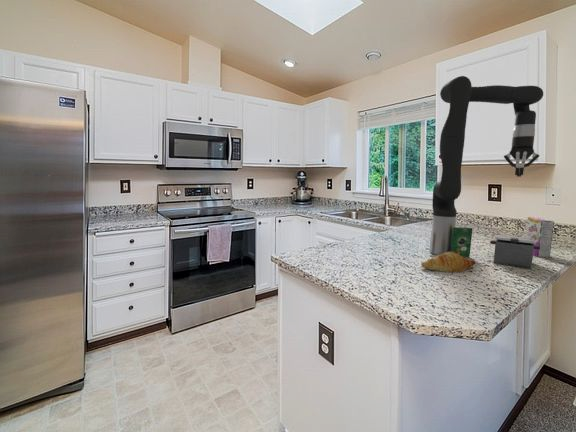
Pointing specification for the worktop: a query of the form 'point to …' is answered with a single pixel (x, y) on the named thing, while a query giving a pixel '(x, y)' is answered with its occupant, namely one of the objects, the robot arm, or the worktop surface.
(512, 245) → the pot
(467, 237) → the coffee box
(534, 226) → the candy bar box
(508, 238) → the lid
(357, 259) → the worktop surface
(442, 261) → the croissant
